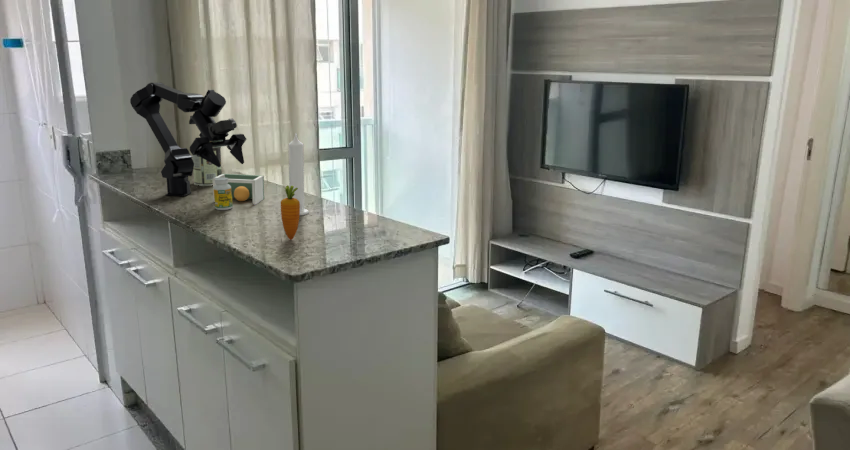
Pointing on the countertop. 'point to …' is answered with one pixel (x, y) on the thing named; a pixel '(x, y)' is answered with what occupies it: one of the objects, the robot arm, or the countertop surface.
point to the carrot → (290, 212)
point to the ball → (241, 193)
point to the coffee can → (206, 169)
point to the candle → (297, 171)
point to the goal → (246, 185)
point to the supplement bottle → (222, 194)
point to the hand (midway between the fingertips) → (231, 164)
